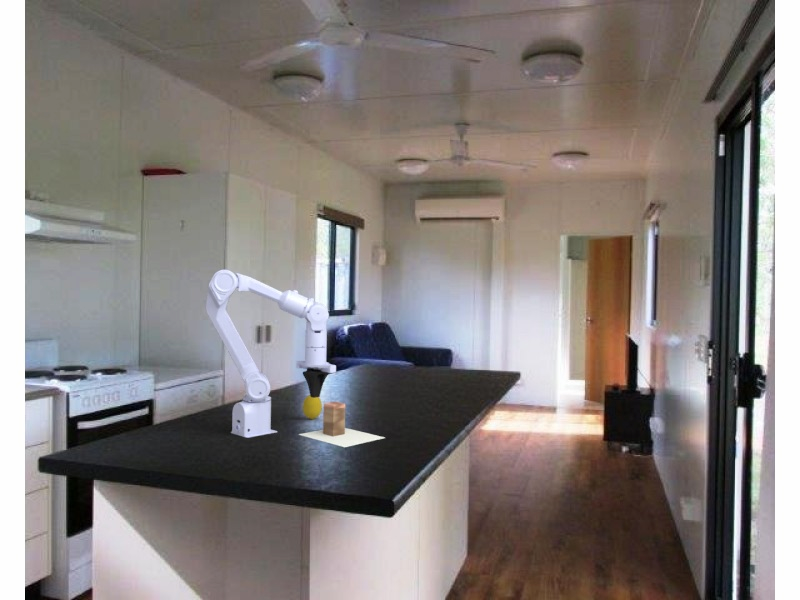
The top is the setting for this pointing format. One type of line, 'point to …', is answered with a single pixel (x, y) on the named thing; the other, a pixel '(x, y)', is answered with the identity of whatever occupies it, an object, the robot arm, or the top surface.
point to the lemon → (312, 407)
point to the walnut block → (334, 419)
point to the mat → (343, 437)
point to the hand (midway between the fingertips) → (315, 397)
